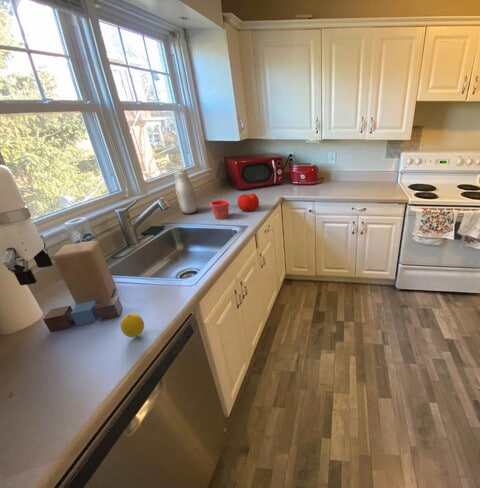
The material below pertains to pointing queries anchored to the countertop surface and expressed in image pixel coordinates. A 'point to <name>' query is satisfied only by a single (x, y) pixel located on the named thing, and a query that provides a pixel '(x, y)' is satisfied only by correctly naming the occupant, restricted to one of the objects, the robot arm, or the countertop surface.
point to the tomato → (248, 202)
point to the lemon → (132, 325)
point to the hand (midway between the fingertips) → (37, 274)
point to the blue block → (85, 313)
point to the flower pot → (220, 209)
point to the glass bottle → (185, 192)
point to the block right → (109, 308)
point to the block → (85, 271)
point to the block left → (59, 318)
